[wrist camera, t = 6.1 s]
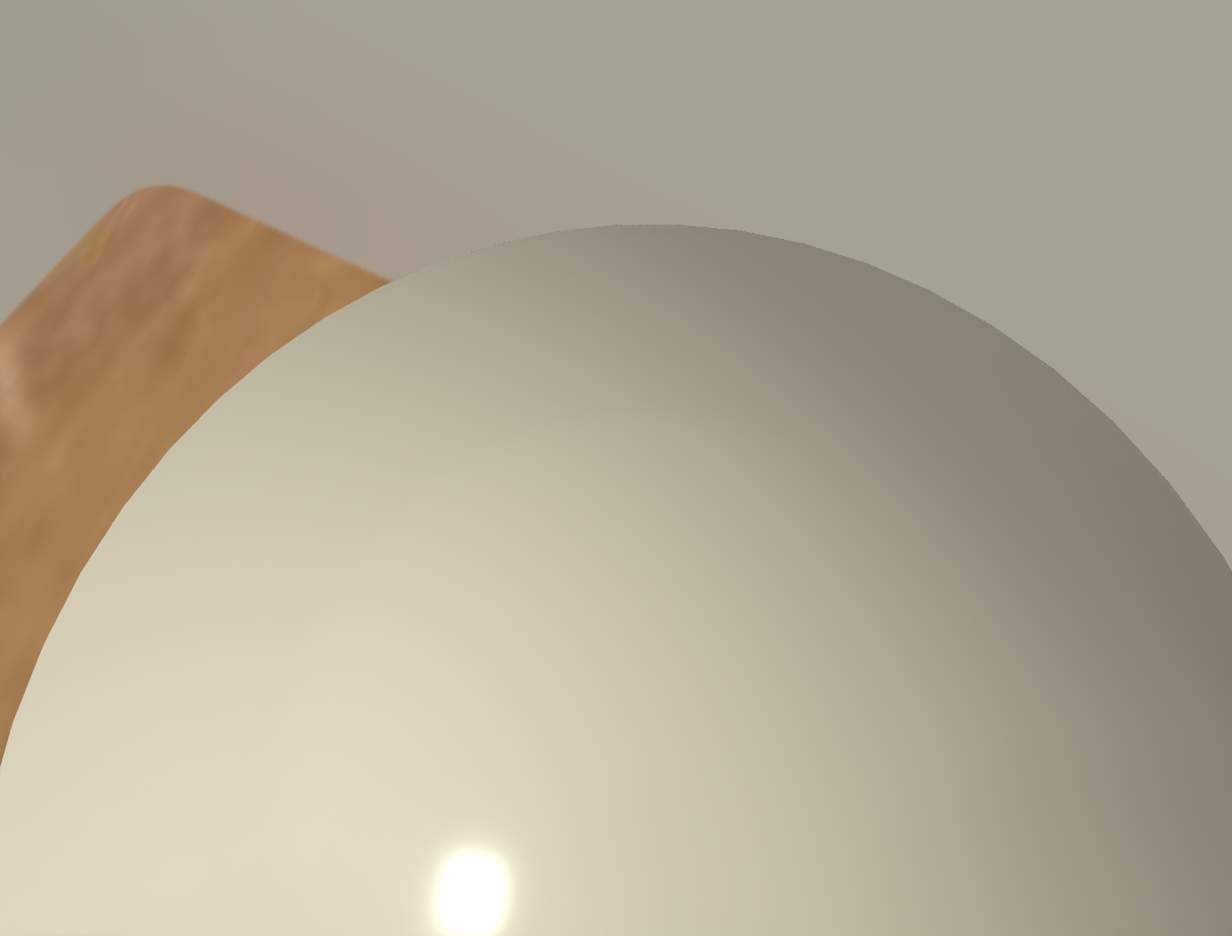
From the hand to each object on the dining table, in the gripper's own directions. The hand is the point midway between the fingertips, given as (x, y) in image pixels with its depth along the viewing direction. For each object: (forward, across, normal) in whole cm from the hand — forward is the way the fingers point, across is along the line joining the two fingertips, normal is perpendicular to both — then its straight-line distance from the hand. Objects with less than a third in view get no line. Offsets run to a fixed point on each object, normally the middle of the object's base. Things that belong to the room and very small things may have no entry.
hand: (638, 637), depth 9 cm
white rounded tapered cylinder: (+4, 0, -6) cm, 7 cm away
